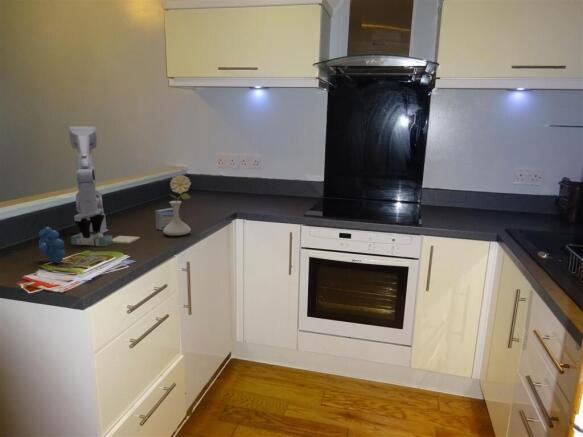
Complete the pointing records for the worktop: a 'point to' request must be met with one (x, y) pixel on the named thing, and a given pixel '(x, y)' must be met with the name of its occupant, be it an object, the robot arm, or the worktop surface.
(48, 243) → the grapes
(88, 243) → the grey hollow block
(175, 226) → the flower in vase
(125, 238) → the mat
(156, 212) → the medicine box
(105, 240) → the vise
